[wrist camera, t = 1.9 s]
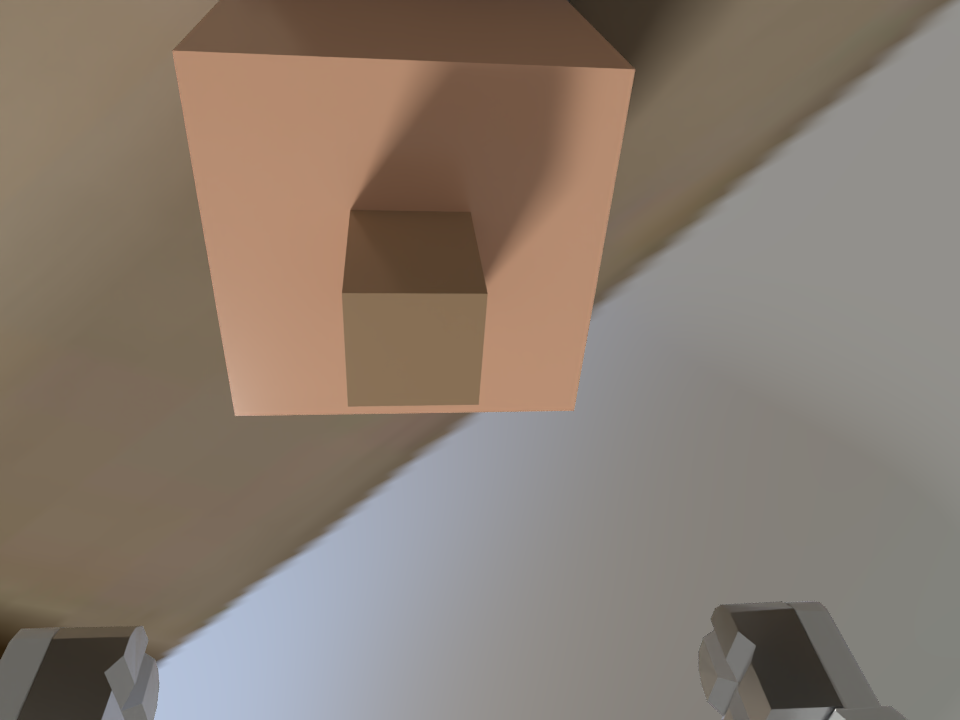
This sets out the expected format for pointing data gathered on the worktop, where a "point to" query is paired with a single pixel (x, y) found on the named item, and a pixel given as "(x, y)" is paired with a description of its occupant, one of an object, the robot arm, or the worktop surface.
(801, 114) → the worktop surface
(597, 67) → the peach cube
